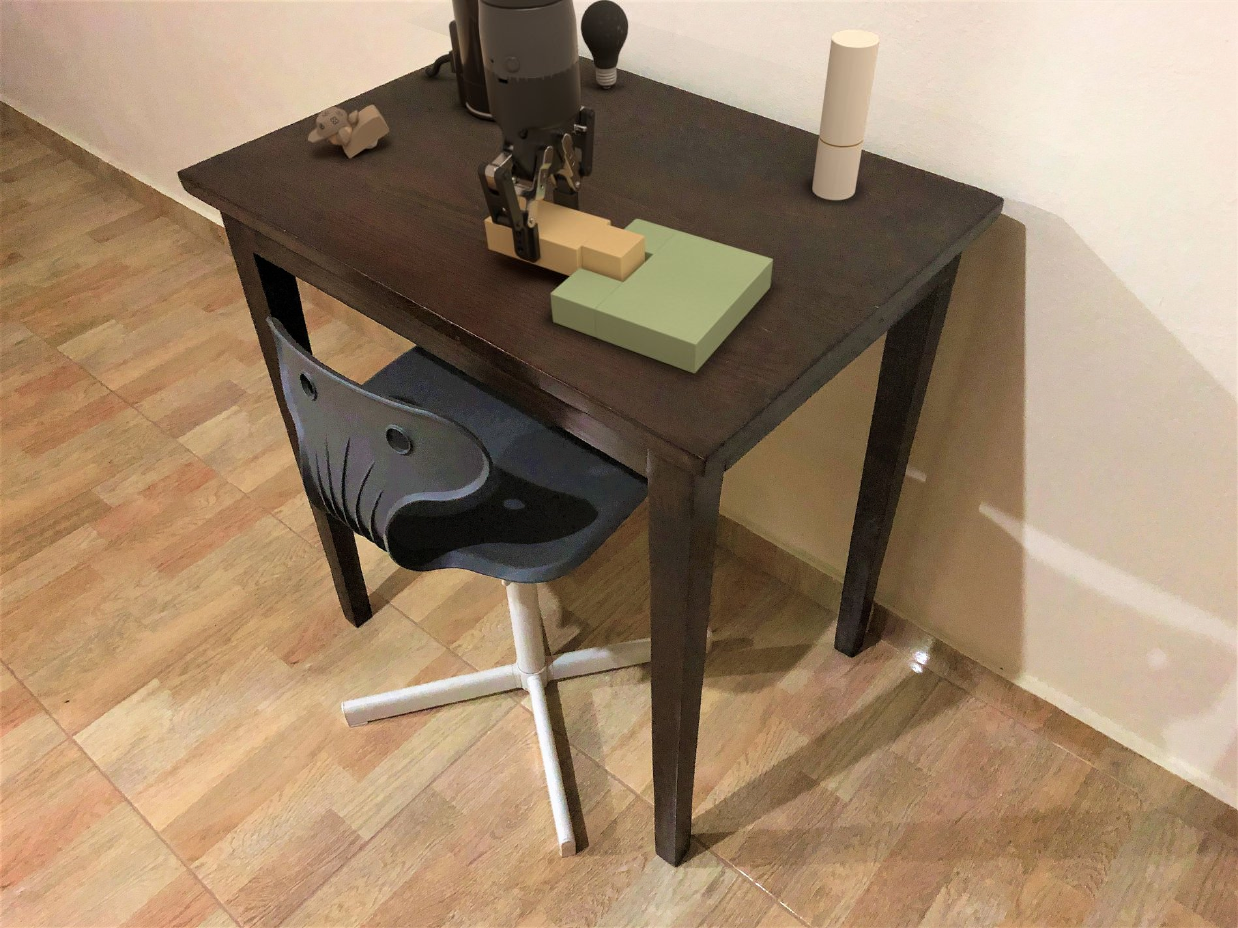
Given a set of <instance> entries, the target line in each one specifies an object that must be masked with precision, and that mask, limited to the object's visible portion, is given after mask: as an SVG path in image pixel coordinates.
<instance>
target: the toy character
mask: <svg viewBox="0 0 1238 928" xmlns="http://www.w3.org/2000/svg"><path fill="white" fill-rule="evenodd" d="M315 121H316V128H314V129H313V130H312V131H311V132H309V134H308V138H307V141H308V142H309V143H311V144H317V143H319V142H320V141H322V140H324V142H328V143H330V144H331V145H336V146H342V149H343V152H344V153H345V154H346V156H347V157H348V159H352V158H353V157H355V156H356V155H358V154H359V153H360V152H362V151H364V150H371V149H373V148H375V147H376V146H377V144H378V141H379V140H380V139H381V138H382V137H384V136H385V135H387V134H388V133H390V128H389V126H388V124H387V122H386V121H385V118H384V117H383V115H382V114H381V113H380V111H379V110H378V108H377V107H376V106H375V104H370V105H367V106H366V107H364V108H363V109H361V110H360V111H358V110H357V109H355V110H353V111H352V112H351V113H349V114H348V113H347V112H346V110H344V109H342V108H338V107H337V106H333V105H332V106H330V107H327V108H325V109H323V110H322V111H321V112H320V113H318V115H317V117H316V120H315Z"/></svg>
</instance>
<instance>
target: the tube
mask: <svg viewBox="0 0 1238 928" xmlns="http://www.w3.org/2000/svg"><path fill="white" fill-rule="evenodd" d="M880 40H881V39H880V37H879V36H878V35H877V33H874V32H871V31H867V30H863V29H844V30H839V31H837V32H835V33H833V34H832V36H831V39H830V47H829V55H828V63H827V72H826V79H825V87H824V93H823V94H824V95H823V102H822V111H821V118H820V126H819V135H818V142H817V149H816V155H815V156H816V157H815V165H814V173H813V180H812V192H813V193H814V194H815V195H816V196H817V197H819V198H821V199H824V200H829V201H842V200H847V199H849V198H851V197H853V196H854V194H855V193H856V187H857V181H858V175H859V168H860V163H861V156H862V150H863V144H864V137H865V132H866V125H867V120H868V113H869V108H870V101H871V95H872V90H873V82H874V77H875V71H876V65H877V59H878V52H879V46H880Z"/></svg>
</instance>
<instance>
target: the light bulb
mask: <svg viewBox="0 0 1238 928" xmlns="http://www.w3.org/2000/svg"><path fill="white" fill-rule="evenodd" d="M580 33H581V37H582V39H583V42H584V44H585V46H586V47H587V49H588V50H589V52H590V54H591V56H592V60H593V64H594V66H595V77H596V83H597V84H599V85H600V86H601V87H602V88H603V89H610V88H611V86H613V85H614V84H616V82H617V77H618V76H617V66H618V63H619V56H620V53H621V51H622V49H623V47H624V45H625V43H626V41H627V38H628V35H629V19H628V17H627V14H626V13H625V11H624V9H623V8H622V7H621V6H620V5H619V4H618V3H616V2H614V1H612V0H597V1H594V2H593V3H591V4H590V5H588V7H586V9H585V10H584V13H583V14H582V17H581V20H580Z"/></svg>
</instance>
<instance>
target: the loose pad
mask: <svg viewBox="0 0 1238 928" xmlns="http://www.w3.org/2000/svg"><path fill="white" fill-rule="evenodd" d="M519 206H520V209H521V210H524V211H525V208H526V199H525V198H524V197H520V203H519ZM503 210H505V209H504V208H503ZM536 223H538V231H539V244H540V254H541V258H540V259H539V260H538V261H537V262H535V263H532V262H529V261H526V260H523V259H520V258H519V257H518V256H517V255H516V253H515V250H514V241H513V234H512V229H511V228H508V227H505V226H502V225H497V224H494V223H493V222H492V219H491V216H488V217H487V218H486V219H484V226H485V233H486V241H487V247H488V248H487V249H488V250H490V251H493V252H497V253H499V254H502V255H506V256H508V257H511V258H515V259H517V260H521V261H523V262H526V263H529V264H533V265H536V266H539V267H540V268H541V267H542V268H544V269H548V270H550V271H554V272H557V273H560V274H563V275H566V276H569V277H570V276H571V275H572V274H573V273H574V272H576V271H577V270H578V269H579V268H582V269H585V270H588V271H591V272H594V273H597V274H600V275H603V276H606V277H609V278H612V279H615V280H618V281H621V282H624V281H625V280H627V279H628V278H629V277H630V276H631V275H632V274H633V273H634V272H635V271H636V270H637V269H638V268H639V267H640V266H642V265H643V264H644V263H645V236H643V235H640V234H636V233H633V232H630V231H626V230H624V228H619V227H616V226H613V225H611V223H612V222H611V220H610V219H607V218H604V217H601V216H596V215H593V214H589V213H586V212H584V211H581V210H579V211H577V210H573V209H570V208H567V207H563V206H560V205H557V204H554V202H550V201H546V200H543V199H542V200H540V201H539V205H538V212H537V219H536Z"/></svg>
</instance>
